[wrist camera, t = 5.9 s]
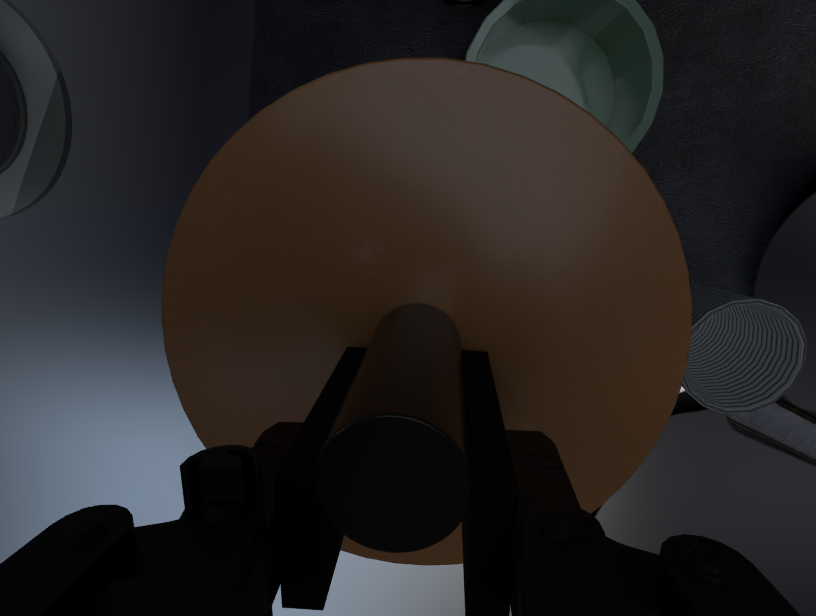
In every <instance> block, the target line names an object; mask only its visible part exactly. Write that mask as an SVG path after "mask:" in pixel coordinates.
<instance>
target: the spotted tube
mask: <svg viewBox="0 0 816 616" xmlns="http://www.w3.org/2000/svg"><path fill="white" fill-rule="evenodd" d="M441 1H443V2H445V3H446V4H449V5H452V6H456V7H472V6H476V5H479V4H482V3H484V2H486V1H487V0H441Z"/></svg>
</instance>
